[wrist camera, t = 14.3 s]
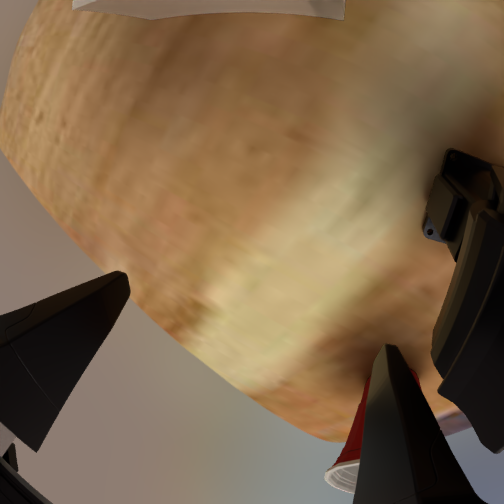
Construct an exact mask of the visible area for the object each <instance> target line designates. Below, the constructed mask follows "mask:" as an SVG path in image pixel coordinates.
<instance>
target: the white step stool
mask: <svg viewBox="0 0 504 504" xmlns="http://www.w3.org/2000/svg"><path fill="white" fill-rule="evenodd" d="M345 1H346V0H73V5H72V10H79V11H92V12H102V13H111V14H118V15H125V16H132V17H138V18H143V19H148V20H156V19H162V18H170V17H177V16H186V15H197V14H210V13H235V12H257V13H282V14H295V15H306V16H315V17H323V18H330V19H336V20H343V21H344V13H345Z"/></svg>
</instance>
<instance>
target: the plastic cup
mask: <svg viewBox="0 0 504 504" xmlns="http://www.w3.org/2000/svg"><path fill="white" fill-rule="evenodd" d="M410 370H411V369H410ZM411 372H412V374H413V376H414V378H415V379H416V381H417V383H418V385H419V387H420V389H421V386H420V382H419V378H418V377H417V375H416V373H415V372H414V371H412V370H411ZM370 381H371V376H370V377H369V378H368V380H367V383H366V384H365V388H364V392H363V396H362V400H361V403H360V404H359V406H358V410H357V413H356V416H355V419H354V422H353V425H352V428H351V431H350V433H349V436H348V439H347V442H346V445H345V447H344V448H343V450H342V452H341V454H340V456H339V457H338V459H337V461H336V463H335V464H334V465H333V466H332V467H331V468H329V469H328V470H327V471H326V473H325V478H324V479H325V480H326V481H327V482H328V483H329V484H330V485H331V486H333V487H335V488H337V489H340V490H342V491H344V492H348V493H353V494H355V488H356V482H357V476H358V470H359V463H360V456H361V448H362V439H363V430H364V420H365V409H366V402H367V397H368V392H369V386H370ZM421 391H422V390H421Z"/></svg>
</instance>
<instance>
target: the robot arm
mask: <svg viewBox="0 0 504 504" xmlns="http://www.w3.org/2000/svg"><path fill="white" fill-rule="evenodd" d="M452 153H454V154H455V158H454V159H451V158H450V155H451V154H452ZM426 211H427V213H428V215H427V218H426V220H425V223H424V226H423V234H424V236H425V237H426V238H428V239H432V240H435V241H439V242H442V243H445V244H447V246H448V248H449V250H450V252H451V254H452V256H453V259H454V261H455V262H456V267H455V270H454V273H453V276H452V280H451V283H450V286H449V289H448V292H447V295H446V298H445V300H444V303H443V306H442V309H441V311H440V314H439V317H438V319H437V322H436V324H435V327H434V329H433V336H432V350H431V357H432V360H433V363H434V366H435V367H436V369H437V370H438V372H439V374H440V375H441V377H442V378H443V379H444V380H443V381H442V383H441V385H440V386H439V388H438V390H437V392H438V394H440V395H441V396H443V397H445V398H446V399H448V400H450V401H451V402H453V403H454V404H455V405H456V406H457V407H458V408H459V409H460V410H461V411H462V412H463V413H464V414H465V415H466V417H467V418H468V420H469V421H470V423H471V424H472V426H473V428H474V430H475V432H476V434H477V436H478V437H479V440H480V442H481V443H482V444H483V445H484V446H485V447H486V448H488V449H489V450H490V451H491V452H493V453H495V454H498V453H500V452H501V451H502V450H504V168H503V167H498V166H495V165H493V164H491V163H489V162H486V161H484V160H482V159H479V158H477V157H474V156H472V155H469V154H467V153H464V152H462V151H459V150H456V149H454V148H450V149H448V150H447V151H446V153H445V157H444V161H443V164H442V168H441V172H440V174H438V175H437V176H436V177H435V180H434V184H433V187H432V191H431V194H430V197H429V200H428V204H427V207H426ZM428 229H432V231H431V232H430V233H427V231H428ZM129 296H130V285H129V280H128V276H127V274H126V273H124V272H121V271H114V272H111V273H108V274H106V275H104V276H101V277H98V278H96V279H93V280H90V281H88V282H85V283H83V284H80V285H78V286H75V287H73V288H70V289H68V290H65V291H62V292H60V293H57V294H55V295H53V296H50V297H48V298H45V299H43V300H40V301H38V302H37V303H33V304H31V305H28V306H26V307H23V308H21V309H18V310H15V311H12V312H9V313H6V314H3V315H0V504H52V503H51V502H50V501H49V500H48V499H46V498H45V497H44V496H43V495H41V494H40V493H39V492H38V491H37V490H36V489H34V488H33V487H32V486H31V485H30V484H29V483H28V482H27V481H25V480H24V479H23V478H22V477H21V476H20V475H19V474H18V473H17V472H18V465H17V458H16V450H15V444H14V443H13V441H14V439H15V438H16V437H17V438H19V439H20V440H21V441H22V442H23V443H25V444H26V445H27V446H28V447H30V448H31V449H32V450H34V451H35V452H36V453H37V451H38V450H39V448H40V447H41V445H42V443H43V441H44V439H45V437H46V435H47V434H48V432H49V430H50V428H51V426H52V424H53V423H54V421H55V419H56V418H57V416H58V414H59V412H60V411H61V409H62V407H63V405H64V404H65V402H66V400H67V399H68V397H69V395H70V394H71V392H72V390H73V388H74V387H75V385H76V384H77V382H78V381H79V379H80V377H81V376H82V374H83V373H84V371H85V369H86V368H87V366H88V365H89V363H90V362H91V360H92V358H93V357H94V355H95V354H96V352H97V351H98V349H99V348H100V346H101V345H102V343H103V342H104V340H105V339H106V337H107V335H108V334H109V332H110V331H111V329H112V328H113V326H114V324H115V322H116V320H117V319H118V317H119V315H120V313H121V311H122V309H123V307H124V306H125V304H126V302H127V300H128V298H129ZM353 504H488V503H486V502H484V501H483V500H482V499H480V498H479V496H478V495H477V494H476V493H475V492H474V490H473V488H472V486H471V485H470V483H469V481H468V479H467V477H466V476H465V474H464V472H463V471H462V469H461V467H460V465H459V464H458V462H457V460H456V458H455V456H454V455H453V453H452V451H451V449H450V447H449V445H448V443H447V441H446V439H445V437H444V435H443V432H442V430H440V426H439V424H438V422H437V420H436V418H435V416H434V414H433V412H432V410H431V408H430V406H429V404H428V402H427V400H426V398H425V396H424V395H423V393H422V391H421V389H420V387H419V385H418V383H417V381H416V379H415V378H414V376H413V374H412V372H411V370H410V368H409V367H408V365H407V363H406V361H405V359H404V358H403V356H402V354H401V352H400V350H399V349H398V347H397V346H396V345H392V344H387V343H386V344H384V345H383V346H382V348H381V350H380V351H379V353H378V355H377V357H376V358H375V360H374V363H373V369H372V375H371V381H370V386H369V392H368V397H367V402H366V409H365V420H364V430H363V439H362V448H361V456H360V463H359V470H358V476H357V482H356V488H355V494H354V499H353Z"/></svg>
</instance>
